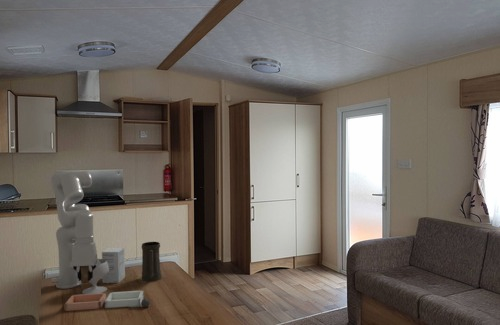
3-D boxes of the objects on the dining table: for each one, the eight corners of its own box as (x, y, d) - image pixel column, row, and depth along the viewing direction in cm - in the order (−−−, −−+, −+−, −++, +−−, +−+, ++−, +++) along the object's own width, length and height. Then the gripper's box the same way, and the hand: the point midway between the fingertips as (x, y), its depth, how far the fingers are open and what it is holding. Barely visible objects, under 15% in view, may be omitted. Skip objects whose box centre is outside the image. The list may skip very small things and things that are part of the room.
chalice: (99, 297, 186) (98, 266, 186) (73, 295, 189) (72, 265, 189) (114, 287, 200) (114, 258, 199) (90, 286, 203) (89, 257, 202)
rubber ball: (140, 308, 172) (140, 300, 171) (142, 305, 175) (141, 297, 175) (149, 307, 172) (149, 299, 172) (150, 304, 176) (149, 297, 176)
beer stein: (139, 276, 216) (139, 242, 215) (159, 274, 221) (158, 239, 219) (144, 287, 203) (144, 249, 201) (164, 283, 207) (164, 247, 205)
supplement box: (109, 277, 217) (108, 247, 217) (125, 277, 217) (124, 247, 216) (102, 283, 207) (101, 251, 207) (119, 282, 207) (118, 251, 207)
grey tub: (105, 309, 171) (104, 301, 171) (110, 299, 183) (110, 292, 182) (140, 306, 174) (140, 299, 174) (143, 297, 185) (143, 290, 185)
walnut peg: (80, 283, 174) (79, 266, 174) (82, 280, 178) (81, 263, 177) (88, 283, 175) (88, 265, 174) (90, 280, 178) (90, 263, 178)
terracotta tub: (64, 312, 169) (64, 304, 169) (72, 302, 180) (72, 295, 180) (100, 309, 171) (100, 301, 171) (106, 300, 182) (106, 292, 182)
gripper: (62, 242, 170) (63, 283, 171) (101, 241, 173) (102, 281, 174) (67, 238, 178) (68, 277, 179) (105, 237, 180) (106, 276, 181)
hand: (85, 279), depth 176 cm, fingers closed on walnut peg, 3 cm apart
